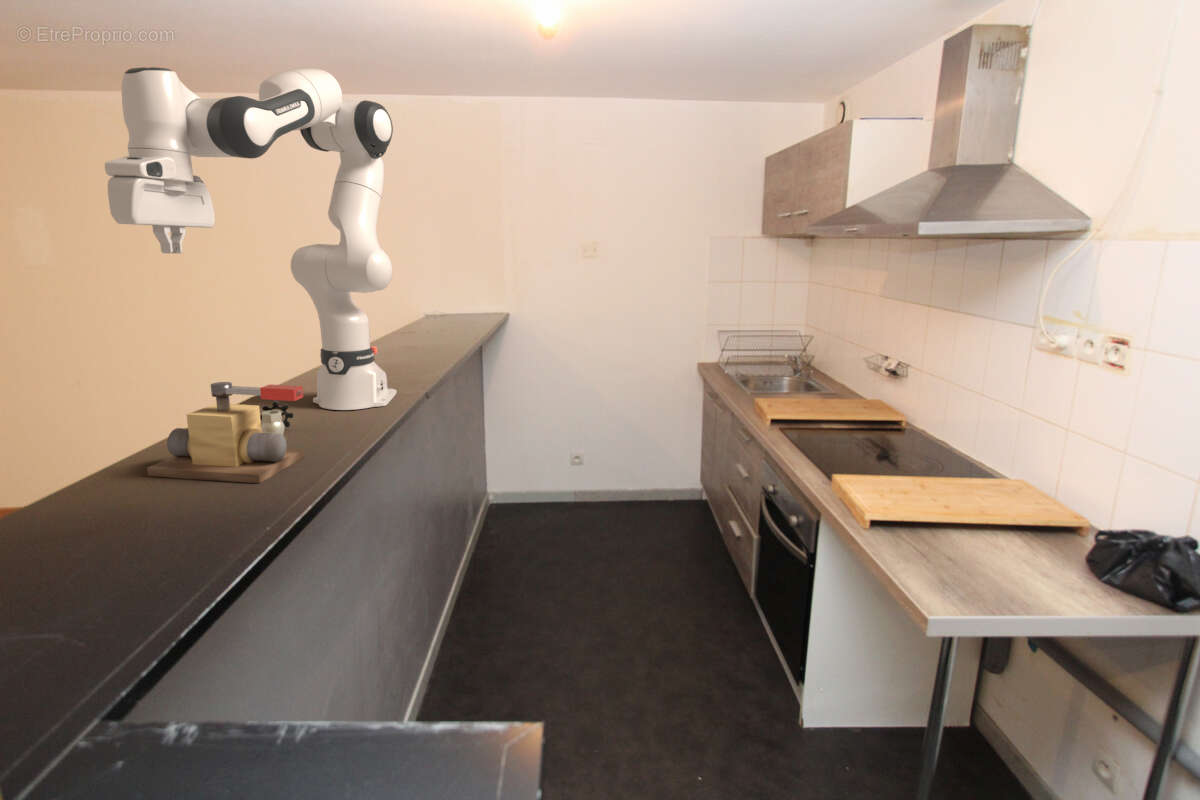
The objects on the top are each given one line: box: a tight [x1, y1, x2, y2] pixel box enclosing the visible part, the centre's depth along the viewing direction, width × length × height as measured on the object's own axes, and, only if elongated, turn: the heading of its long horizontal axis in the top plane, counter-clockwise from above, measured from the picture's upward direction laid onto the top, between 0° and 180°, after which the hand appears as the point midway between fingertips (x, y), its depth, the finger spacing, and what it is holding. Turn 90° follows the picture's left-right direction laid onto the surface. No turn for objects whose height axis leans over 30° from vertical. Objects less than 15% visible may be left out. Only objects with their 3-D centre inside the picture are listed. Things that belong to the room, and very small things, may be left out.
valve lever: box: [210, 381, 304, 402], centre depth 112 cm, size 16×3×2 cm, turn 85°
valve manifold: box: [146, 396, 305, 484], centre depth 114 cm, size 14×20×13 cm
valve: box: [260, 400, 295, 436], centre depth 132 cm, size 7×7×12 cm
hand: (172, 253), depth 112 cm, fingers closed
